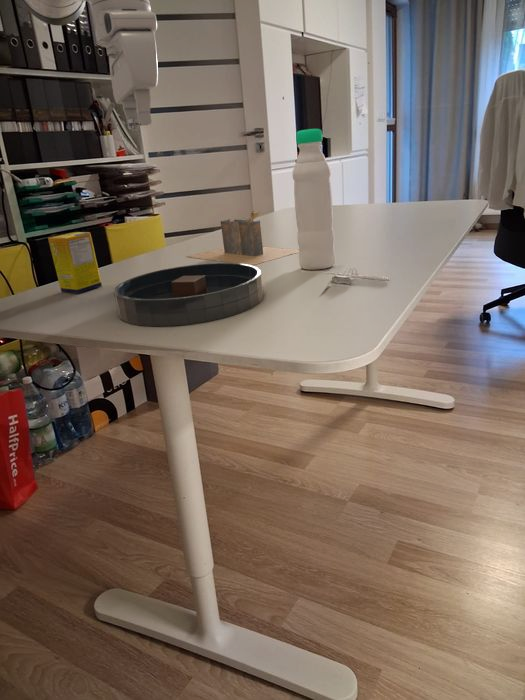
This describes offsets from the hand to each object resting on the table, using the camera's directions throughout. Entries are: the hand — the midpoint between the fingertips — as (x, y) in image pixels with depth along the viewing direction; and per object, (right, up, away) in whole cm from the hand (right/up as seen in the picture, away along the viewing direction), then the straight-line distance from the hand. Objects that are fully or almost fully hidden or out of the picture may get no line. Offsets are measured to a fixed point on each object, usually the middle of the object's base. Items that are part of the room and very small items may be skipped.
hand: (139, 128), depth 84 cm
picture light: (+35, -24, +6) cm, 43 cm away
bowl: (+9, -29, 0) cm, 30 cm away
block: (+8, -28, 0) cm, 29 cm away
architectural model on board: (+15, -13, +40) cm, 45 cm away
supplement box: (-17, -24, +21) cm, 36 cm away
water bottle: (+31, -20, +19) cm, 41 cm away
